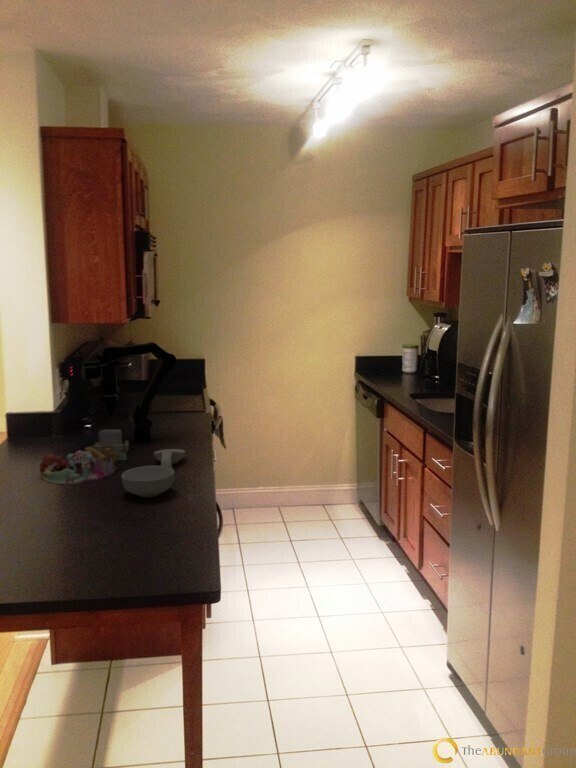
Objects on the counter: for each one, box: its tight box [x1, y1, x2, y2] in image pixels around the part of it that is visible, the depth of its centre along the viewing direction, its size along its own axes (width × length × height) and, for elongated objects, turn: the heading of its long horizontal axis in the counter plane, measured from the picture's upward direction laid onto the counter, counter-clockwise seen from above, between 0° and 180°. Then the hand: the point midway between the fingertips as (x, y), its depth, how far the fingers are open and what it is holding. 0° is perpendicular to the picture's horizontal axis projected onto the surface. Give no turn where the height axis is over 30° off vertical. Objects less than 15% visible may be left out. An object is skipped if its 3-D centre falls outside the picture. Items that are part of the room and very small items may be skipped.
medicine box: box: [98, 428, 123, 446], centre depth 272 cm, size 8×4×9 cm, turn 84°
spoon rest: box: [153, 448, 186, 469], centre depth 254 cm, size 24×12×7 cm, turn 7°
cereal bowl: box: [121, 465, 176, 498], centre depth 226 cm, size 17×17×7 cm
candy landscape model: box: [39, 446, 118, 485], centre depth 246 cm, size 25×24×9 cm
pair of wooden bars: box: [89, 440, 130, 462], centre depth 269 cm, size 13×18×6 cm
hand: (111, 415), depth 280 cm, fingers open, 3 cm apart
